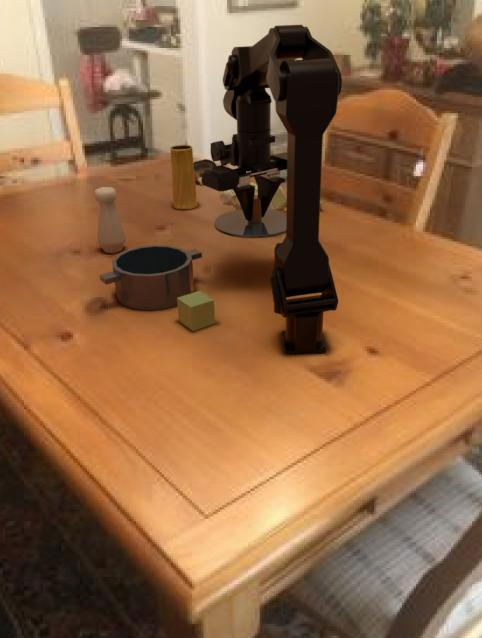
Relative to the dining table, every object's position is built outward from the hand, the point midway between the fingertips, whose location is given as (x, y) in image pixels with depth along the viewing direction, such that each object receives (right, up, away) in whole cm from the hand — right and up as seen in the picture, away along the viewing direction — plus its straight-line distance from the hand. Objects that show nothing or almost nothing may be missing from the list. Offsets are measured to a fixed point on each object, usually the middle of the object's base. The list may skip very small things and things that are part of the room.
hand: (254, 218), depth 114 cm
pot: (-18, -14, 0) cm, 23 cm away
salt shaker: (-30, -2, +18) cm, 35 cm away
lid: (0, -1, +1) cm, 1 cm away
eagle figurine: (-15, +24, +59) cm, 65 cm away
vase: (-17, +13, +42) cm, 47 cm away
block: (-10, -20, -10) cm, 24 cm away
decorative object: (+4, +10, +36) cm, 37 cm away
